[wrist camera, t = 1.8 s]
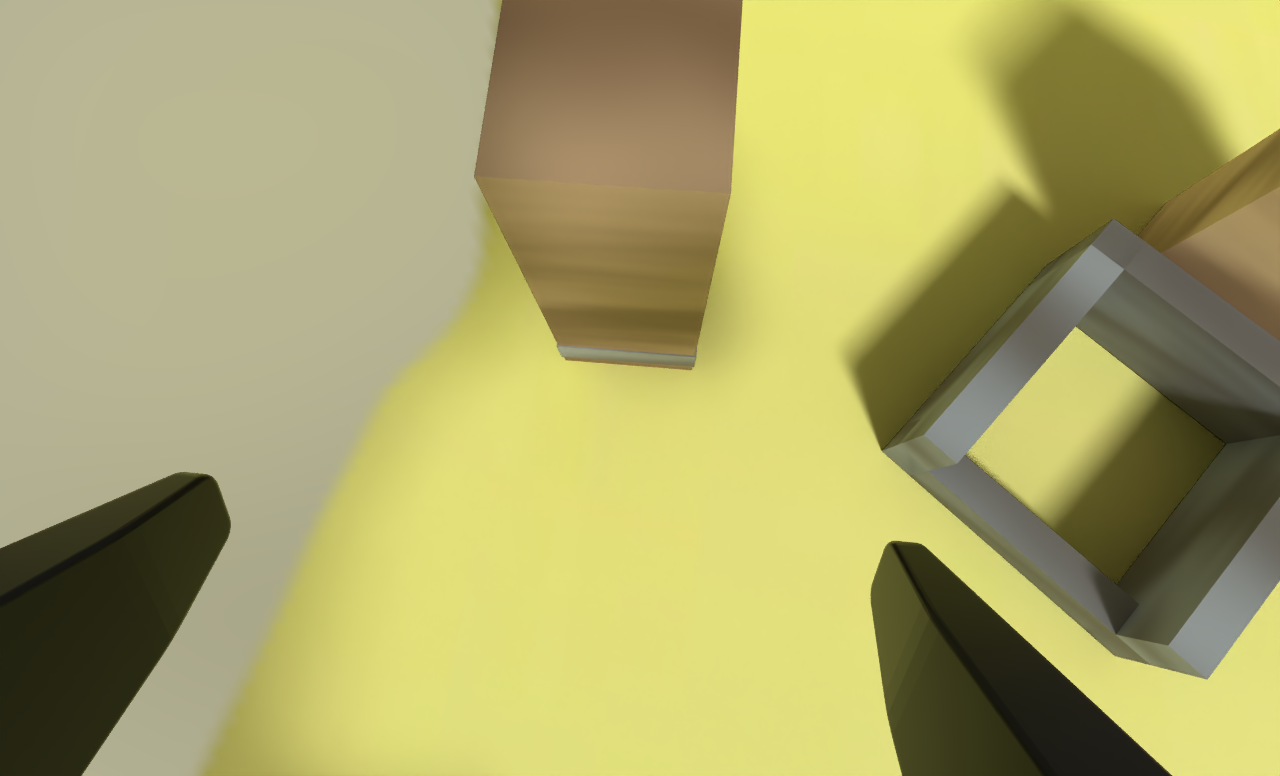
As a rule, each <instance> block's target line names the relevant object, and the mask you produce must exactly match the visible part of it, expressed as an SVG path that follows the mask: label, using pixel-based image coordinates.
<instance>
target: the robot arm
mask: <svg viewBox="0 0 1280 776" xmlns="http://www.w3.org/2000/svg"><path fill="white" fill-rule="evenodd" d="M230 528H231V522H230V517H229V514H228V511H227V508H226V506H225V503H224V500H223V497H222V494H221V491H220V488H219V486H218V483H217V481H216V480H215V479H214V478H213V477H212V476H210V475H207V474H198V473H188V472H180V473H175V474H173V475H171V476H168V477H166V478H163V479H161V480H159V481H156V482H154V483H152V484H150V485H148V486H145V487H142V488H140V489H138V490H136V491H133V492H131V493H128V494H126V495H124V496H121V497H119V498H117V499H114V500H112V501H110V502H107V503H105V504H103V505H101V506H98V507H96V508H94V509H91V510H89V511H87V512H85V513H82V514H80V515H77V516H75V517H73V518H70V519H68V520H66V521H63V522H61V523H59V524H56V525H54V526H52V527H49V528H47V529H45V530H42V531H40V532H38V533H35V534H33V535H31V536H28V537H26V538H24V539H21V540H19V541H17V542H14V543H12V544H10V545H7V546H5V547H3V548H0V776H82V774H83V773H84V771H85V770H86V768H87V767H88V765H89V764H90V762H91V761H92V760H93V758H94V757H95V755H96V754H97V752H98V751H99V749H100V748H101V746H102V745H103V743H104V742H105V740H106V739H107V737H108V736H109V734H110V733H111V731H112V730H113V728H114V727H115V725H116V724H117V722H118V721H119V719H120V718H121V716H122V715H123V713H124V712H125V710H126V709H127V707H128V706H129V704H130V703H131V702H132V700H133V699H134V697H135V696H136V694H137V692H138V691H139V690H140V688H141V687H142V685H143V684H144V682H145V681H146V679H147V678H148V676H149V675H150V673H151V672H152V670H153V669H154V667H155V666H156V664H157V663H158V661H159V660H160V658H161V657H162V655H163V654H164V652H165V651H166V649H167V647H168V646H169V644H170V643H171V641H172V640H173V638H174V636H175V634H176V633H177V631H178V629H179V627H180V625H181V624H182V622H183V620H184V618H185V617H186V615H187V613H188V611H189V609H190V607H191V606H192V603H193V602H194V600H195V598H196V596H197V594H198V593H199V591H200V589H201V587H202V585H203V583H204V581H205V580H206V577H207V576H208V574H209V572H210V570H211V569H212V567H213V565H214V563H215V561H216V559H217V557H218V555H219V554H220V552H221V550H222V548H223V546H224V545H225V543H226V541H227V539H228V536H229V533H230ZM871 607H872V614H873V621H874V628H875V635H876V642H877V649H878V656H879V663H880V670H881V677H882V684H883V692H884V698H885V704H886V710H887V716H888V721H889V725H890V729H891V734H892V738H893V742H894V746H895V750H896V753H897V757H898V761H899V765H900V769H901V773H902V776H1172V775H1171V774H1170V773H1169V772H1168V771H1167V770H1165V769H1164V768H1163V767H1162V766H1161V765H1160V764H1159V763H1158V762H1157V761H1156V760H1155V759H1154V758H1153V757H1151V756H1150V755H1149V754H1148V753H1147V752H1146V751H1145V750H1144V749H1143V748H1142V747H1141V746H1140V745H1139V744H1137V743H1136V742H1135V741H1134V740H1133V739H1132V738H1131V737H1130V736H1129V735H1128V734H1127V733H1126V732H1125V731H1123V730H1122V729H1121V728H1120V727H1119V726H1118V725H1117V724H1116V723H1115V722H1114V721H1113V720H1112V719H1111V718H1109V717H1108V716H1107V715H1106V714H1105V713H1104V712H1103V711H1102V710H1101V709H1100V708H1099V707H1098V706H1097V705H1095V704H1094V703H1093V702H1092V701H1091V700H1090V699H1089V698H1088V697H1087V696H1086V695H1085V694H1084V693H1082V692H1081V691H1080V690H1079V689H1078V688H1077V687H1076V686H1075V685H1074V684H1073V683H1072V682H1071V681H1070V680H1068V679H1067V678H1066V677H1065V676H1064V675H1063V674H1062V673H1061V672H1060V671H1059V670H1058V669H1057V668H1056V667H1054V666H1053V665H1052V664H1051V663H1050V662H1049V661H1048V660H1047V659H1046V658H1045V657H1044V656H1043V655H1042V654H1040V653H1039V652H1038V651H1037V650H1036V649H1035V648H1034V647H1033V646H1032V645H1031V644H1030V643H1029V642H1028V641H1026V640H1025V639H1024V638H1023V637H1022V636H1021V635H1020V634H1019V633H1018V632H1017V631H1016V630H1015V629H1014V628H1012V627H1011V626H1010V625H1009V624H1008V623H1007V622H1006V621H1005V620H1004V619H1003V618H1002V617H1001V616H999V615H998V614H997V613H996V612H995V611H994V610H993V609H992V608H991V607H990V606H989V605H988V604H987V603H985V602H984V601H983V600H982V599H981V598H980V597H979V596H978V595H977V594H976V593H975V592H974V591H973V590H971V589H970V588H969V587H968V586H967V585H966V584H965V583H964V582H963V581H962V580H961V579H960V578H959V577H957V576H956V575H955V574H954V573H953V572H952V571H951V570H950V569H949V568H948V567H947V566H946V565H945V564H943V563H942V562H941V561H940V560H939V559H938V558H937V557H936V556H935V555H934V554H933V553H932V552H930V551H929V550H928V549H927V548H926V547H925V546H923V545H922V544H919V543H912V542H902V541H891V542H889V543H888V544H887V545H886V547H885V549H884V551H883V554H882V557H881V560H880V563H879V565H878V568H877V571H876V574H875V577H874V580H873V583H872V587H871Z"/></svg>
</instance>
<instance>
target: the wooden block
mask: <svg viewBox="0 0 1280 776" xmlns="http://www.w3.org/2000/svg"><path fill="white" fill-rule="evenodd" d="M741 16H742V0H503V1H502V7H501V13H500V19H499V26H498V32H497V38H496V44H495V50H494V57H493V63H492V69H491V75H490V81H489V88H488V94H487V100H486V106H485V113H484V119H483V125H482V131H481V137H480V144H479V150H478V156H477V162H476V168H475V175H474V177H475V179H476V181H477V183H478V185H479V187H480V189H481V191H482V193H483V195H484V197H485V199H486V201H487V203H488V205H489V207H490V209H491V211H492V213H493V215H494V217H495V219H496V221H497V223H498V225H499V227H500V229H501V231H502V233H503V235H504V237H505V239H506V241H507V243H508V245H509V247H510V249H511V251H512V253H513V255H514V257H515V259H516V261H517V263H518V265H519V267H520V269H521V271H522V273H523V275H524V277H525V279H526V281H527V283H528V285H529V287H530V289H531V291H532V293H533V295H534V297H535V299H536V301H537V303H538V305H539V307H540V309H541V311H542V313H543V315H544V317H545V319H546V321H547V323H548V325H549V327H550V329H551V331H552V333H553V335H554V337H555V339H556V341H557V348H558V350H559V352H560V354H561V356H562V357H565V359H566V360H572V361H584V362H597V363H610V364H623V365H635V366H648V367H661V368H674V369H686V370H692V367H694V364H695V360H696V352H697V343H698V339H699V334H700V330H701V325H702V321H703V316H704V312H705V307H706V303H707V298H708V294H709V289H710V285H711V280H712V276H713V271H714V267H715V262H716V258H717V253H718V249H719V244H720V240H721V235H722V230H723V226H724V221H725V217H726V212H727V208H728V203H729V199H730V194H731V180H732V164H733V147H734V131H735V115H736V98H737V82H738V66H739V49H740V33H741Z"/></svg>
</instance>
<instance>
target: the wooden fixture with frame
mask: <svg viewBox="0 0 1280 776" xmlns="http://www.w3.org/2000/svg"><path fill="white" fill-rule="evenodd" d="M1075 326H1077V327H1078V328H1079V329H1080V330H1082V331H1083V332H1084V333H1085V334H1087V335H1088V336H1089V337H1091V338H1092V339H1093V340H1094V341H1096V342H1097V343H1098V344H1100V345H1101V346H1102V347H1103V348H1105V349H1106V350H1107V351H1108V352H1110V353H1111V354H1112V355H1114V356H1115V357H1116V358H1117V359H1119V360H1120V361H1121V362H1122V363H1124V364H1125V365H1126V366H1128V367H1129V368H1130V369H1131V370H1133V371H1134V372H1135V373H1136V374H1138V375H1139V376H1140V377H1142V378H1143V379H1144V380H1145V381H1147V382H1148V383H1149V384H1151V385H1152V386H1153V387H1154V388H1156V389H1157V390H1158V391H1159V392H1161V393H1162V394H1163V395H1165V396H1166V397H1167V398H1168V399H1170V400H1171V401H1172V402H1173V403H1175V404H1176V405H1177V406H1179V407H1180V408H1181V409H1182V410H1184V411H1185V412H1186V413H1187V414H1189V415H1190V416H1191V417H1193V418H1194V419H1195V420H1196V421H1198V422H1199V423H1200V424H1202V425H1203V426H1204V427H1205V428H1207V429H1208V430H1209V431H1210V432H1212V433H1213V434H1214V435H1216V436H1217V437H1218V438H1219V439H1221V440H1222V441H1223V442H1224V443H1226V445H1225V446H1224V448H1223V449H1222V450H1221V451H1220V453H1219V454H1218V455H1217V457H1216V458H1215V459H1214V460H1213V462H1212V463H1211V464H1210V466H1209V467H1208V468H1207V469H1206V471H1205V472H1204V473H1203V475H1202V476H1201V477H1200V478H1199V480H1198V481H1197V482H1196V484H1195V485H1194V486H1193V487H1192V489H1191V490H1190V491H1189V493H1188V494H1187V495H1186V496H1185V498H1184V499H1183V500H1182V502H1181V503H1180V504H1179V505H1178V507H1177V508H1176V509H1175V511H1174V512H1173V513H1172V514H1171V516H1170V517H1169V518H1168V520H1167V521H1166V522H1165V523H1164V525H1163V526H1162V527H1161V529H1160V530H1159V531H1158V532H1157V534H1156V535H1155V536H1154V538H1153V539H1152V540H1151V541H1150V543H1149V544H1148V545H1147V546H1146V548H1145V549H1144V550H1143V552H1142V553H1141V554H1140V555H1139V557H1138V558H1137V559H1136V561H1135V562H1134V563H1133V564H1132V566H1131V567H1130V568H1129V570H1128V571H1127V572H1126V573H1125V575H1124V576H1123V577H1122V579H1121V580H1120V581H1119V582H1118V584H1117V585H1116V584H1115V583H1114V582H1113V581H1111V580H1110V579H1109V578H1108V577H1107V576H1106V575H1104V574H1103V573H1102V572H1101V571H1100V570H1099V569H1097V568H1096V567H1095V566H1094V565H1093V564H1092V563H1090V562H1089V561H1088V560H1087V559H1086V558H1085V557H1083V556H1082V555H1081V554H1080V553H1079V552H1078V551H1076V550H1075V549H1074V548H1073V547H1072V546H1071V545H1069V544H1068V543H1067V542H1066V541H1065V540H1064V539H1062V538H1061V537H1060V536H1059V535H1058V534H1057V533H1055V532H1054V531H1053V530H1052V529H1051V528H1050V527H1048V526H1047V525H1046V524H1045V523H1044V522H1043V521H1041V520H1040V519H1039V518H1038V517H1037V516H1036V515H1034V514H1033V513H1032V512H1031V511H1030V510H1029V509H1027V508H1026V507H1025V506H1024V505H1023V504H1022V503H1020V502H1019V501H1018V500H1017V499H1016V498H1015V497H1013V496H1012V495H1011V494H1010V493H1009V492H1008V491H1006V490H1005V489H1004V488H1003V487H1002V486H1001V485H999V484H998V483H997V482H996V481H995V480H994V479H992V478H991V477H990V476H989V475H988V474H987V473H985V472H984V471H983V470H982V469H981V468H980V467H978V466H977V465H976V464H975V463H974V462H973V461H971V460H970V459H969V458H968V457H967V456H965V454H966V453H967V452H968V451H969V449H970V448H971V447H972V446H973V445H974V444H975V442H976V441H977V440H978V439H979V438H980V437H981V435H982V434H983V433H984V432H985V431H986V430H987V428H988V427H989V426H990V425H991V424H992V423H993V422H994V420H995V419H996V418H997V417H998V416H999V415H1000V413H1001V412H1002V411H1003V410H1004V409H1005V408H1006V406H1007V405H1008V404H1009V403H1010V402H1011V401H1012V399H1013V398H1014V397H1015V396H1016V395H1017V394H1018V392H1019V391H1020V390H1021V389H1022V388H1023V387H1024V385H1025V384H1026V383H1027V382H1028V381H1029V380H1030V378H1031V377H1032V376H1033V375H1034V374H1035V373H1036V372H1037V370H1038V369H1039V368H1040V367H1041V366H1042V365H1043V363H1044V362H1045V361H1046V360H1047V359H1048V358H1049V356H1050V355H1051V354H1052V353H1053V352H1054V351H1055V349H1056V348H1057V347H1058V346H1059V345H1060V344H1061V342H1062V341H1063V340H1064V339H1065V338H1066V337H1067V335H1068V334H1069V333H1070V332H1071V331H1072V330H1073V328H1074V327H1075ZM882 452H884V453H885V454H886V455H887V456H888V457H889V458H890V459H892V460H893V461H894V462H895V463H896V464H897V465H898V466H900V467H901V468H902V469H903V470H904V471H905V472H906V473H907V474H909V475H910V476H911V477H912V478H913V479H914V480H915V481H917V482H918V483H919V484H920V485H921V486H922V487H923V488H925V489H926V490H927V491H928V492H929V493H930V494H931V495H933V496H934V497H935V498H936V499H937V500H938V501H939V502H940V503H942V504H943V505H944V506H945V507H946V508H947V509H948V510H950V511H951V512H952V513H953V514H954V515H955V516H956V517H958V518H959V519H960V520H961V521H962V522H963V523H964V524H965V525H967V526H968V527H969V528H970V529H971V530H972V531H973V532H975V533H976V534H977V535H978V536H979V537H980V538H981V539H983V540H984V541H985V542H986V543H987V544H988V545H989V546H991V547H992V548H993V549H994V550H995V551H996V552H997V553H998V554H1000V555H1001V556H1002V557H1003V558H1004V559H1005V560H1006V561H1008V562H1009V563H1010V564H1011V565H1012V566H1013V567H1014V568H1016V569H1017V570H1018V571H1019V572H1020V573H1021V574H1022V575H1023V576H1025V577H1026V578H1027V579H1028V580H1029V581H1030V582H1031V583H1033V584H1034V585H1035V586H1036V587H1037V588H1038V589H1039V590H1041V591H1042V592H1043V593H1044V594H1045V595H1046V596H1047V597H1049V598H1050V599H1051V600H1052V601H1053V602H1054V603H1055V604H1056V605H1058V606H1059V607H1060V608H1061V609H1062V610H1063V611H1064V612H1066V613H1067V614H1068V615H1069V616H1070V617H1071V618H1072V619H1074V620H1075V621H1076V622H1077V623H1078V624H1079V625H1080V626H1082V627H1083V628H1084V629H1085V630H1086V631H1087V632H1088V633H1089V634H1091V635H1092V636H1093V637H1094V638H1095V639H1096V640H1097V641H1099V642H1100V643H1101V644H1102V645H1103V646H1104V647H1105V648H1107V649H1108V650H1109V651H1110V652H1111V653H1112V654H1113V655H1114V656H1117V657H1121V658H1125V659H1129V660H1133V661H1137V662H1141V663H1145V664H1149V665H1153V666H1157V667H1160V668H1164V669H1168V670H1172V671H1176V672H1180V673H1184V674H1188V675H1192V676H1196V677H1200V678H1204V679H1207V680H1208V678H1209V677H1210V675H1211V674H1212V673H1213V671H1214V670H1215V669H1216V667H1217V666H1218V665H1219V663H1220V662H1221V660H1222V659H1223V658H1224V656H1225V655H1226V654H1227V652H1228V651H1229V649H1230V648H1231V647H1232V645H1233V644H1234V643H1235V641H1236V640H1237V638H1238V637H1239V636H1240V634H1241V633H1242V632H1243V630H1244V629H1245V627H1246V626H1247V625H1248V623H1249V622H1250V621H1251V619H1252V618H1253V617H1254V615H1255V614H1256V612H1257V611H1258V610H1259V608H1260V607H1261V606H1262V604H1263V603H1264V601H1265V600H1266V599H1267V597H1268V596H1269V595H1270V593H1271V592H1272V590H1273V589H1274V588H1275V586H1276V585H1277V584H1278V582H1279V581H1280V129H1279V130H1277V131H1276V132H1274V133H1273V134H1271V135H1270V136H1268V137H1266V138H1265V139H1263V140H1262V141H1260V142H1259V143H1257V144H1256V145H1254V146H1253V147H1251V148H1250V149H1248V150H1247V151H1245V152H1244V153H1242V154H1241V155H1239V156H1237V157H1236V158H1234V159H1233V160H1231V161H1230V162H1228V163H1227V164H1225V165H1224V166H1222V167H1221V168H1219V169H1218V170H1216V171H1215V172H1213V173H1211V174H1210V175H1208V176H1207V177H1205V178H1204V179H1202V180H1201V181H1199V182H1198V183H1196V184H1195V185H1193V186H1192V187H1190V188H1189V189H1187V190H1185V191H1184V192H1182V193H1181V194H1179V195H1178V196H1176V197H1175V198H1173V199H1172V200H1170V201H1169V202H1167V203H1166V204H1165V205H1164V206H1163V207H1162V208H1161V210H1160V211H1159V212H1158V213H1157V214H1156V215H1155V216H1154V218H1153V219H1152V220H1151V221H1150V222H1149V223H1148V225H1147V226H1146V227H1145V228H1144V229H1143V230H1142V232H1141V233H1140V234H1139V235H1138V236H1137V235H1135V234H1134V233H1133V232H1131V231H1130V230H1129V229H1127V228H1126V227H1125V226H1123V225H1122V224H1121V223H1119V222H1118V221H1117V220H1115V219H1113V220H1111V221H1110V222H1108V223H1107V224H1105V225H1104V226H1102V227H1101V228H1100V229H1098V230H1097V231H1095V232H1094V233H1092V234H1091V235H1090V236H1088V237H1087V238H1085V239H1084V240H1082V241H1081V242H1079V243H1078V244H1077V245H1075V246H1074V247H1072V248H1071V249H1069V250H1068V251H1067V252H1065V253H1064V254H1062V255H1061V256H1059V257H1058V258H1056V259H1055V260H1054V261H1052V262H1051V263H1049V264H1048V265H1047V266H1046V267H1045V268H1044V269H1043V270H1042V271H1041V272H1040V273H1039V275H1038V276H1037V277H1036V278H1035V279H1034V280H1033V281H1032V283H1031V284H1030V285H1029V286H1028V287H1027V288H1026V289H1025V290H1024V292H1023V293H1022V294H1021V295H1020V296H1019V297H1018V298H1017V299H1016V301H1015V302H1014V303H1013V304H1012V305H1011V306H1010V307H1009V308H1008V310H1007V311H1006V312H1005V313H1004V314H1003V315H1002V316H1001V317H1000V319H999V320H998V321H997V322H996V323H995V324H994V325H993V326H992V328H991V329H990V330H989V331H988V332H987V333H986V334H985V335H984V337H983V338H982V339H981V340H980V341H979V342H978V343H977V344H976V346H975V347H974V348H973V349H972V350H971V351H970V352H969V353H968V355H967V356H966V357H965V358H964V359H963V360H962V361H961V362H960V364H959V365H958V366H957V367H956V368H955V369H954V370H953V371H952V373H951V374H950V375H949V376H948V377H947V378H946V379H945V380H944V382H943V383H942V384H941V385H940V386H939V387H938V388H937V389H936V391H935V392H934V393H933V394H932V395H931V396H930V397H929V399H928V400H927V401H926V402H925V403H924V404H923V405H922V406H921V408H920V409H919V410H918V411H917V412H916V413H915V414H914V415H913V417H912V418H911V419H910V420H909V421H908V422H907V423H906V424H905V426H904V427H903V428H902V429H901V430H900V431H899V432H898V433H897V435H896V436H895V437H894V438H893V439H892V440H891V441H890V442H889V444H888V445H887V446H886V447H885V448H884V449H883V450H882Z"/></svg>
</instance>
